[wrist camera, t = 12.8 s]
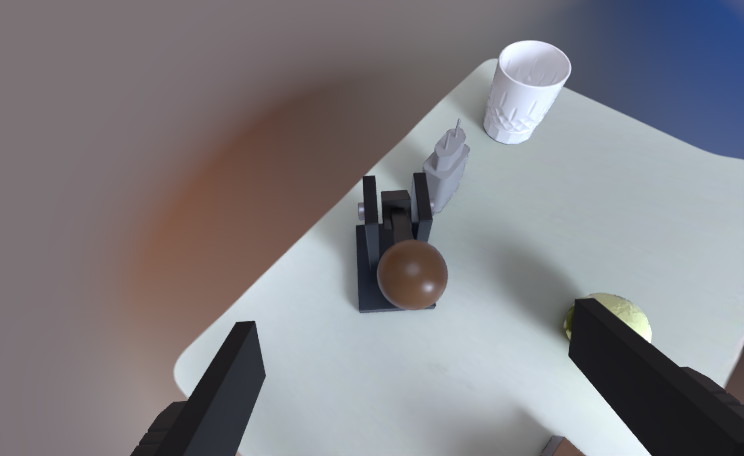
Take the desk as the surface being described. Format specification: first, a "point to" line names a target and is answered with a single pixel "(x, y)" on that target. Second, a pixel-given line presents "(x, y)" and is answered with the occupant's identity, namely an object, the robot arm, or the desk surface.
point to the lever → (408, 259)
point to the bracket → (386, 240)
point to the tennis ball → (617, 314)
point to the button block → (561, 448)
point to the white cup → (524, 89)
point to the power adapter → (446, 166)
